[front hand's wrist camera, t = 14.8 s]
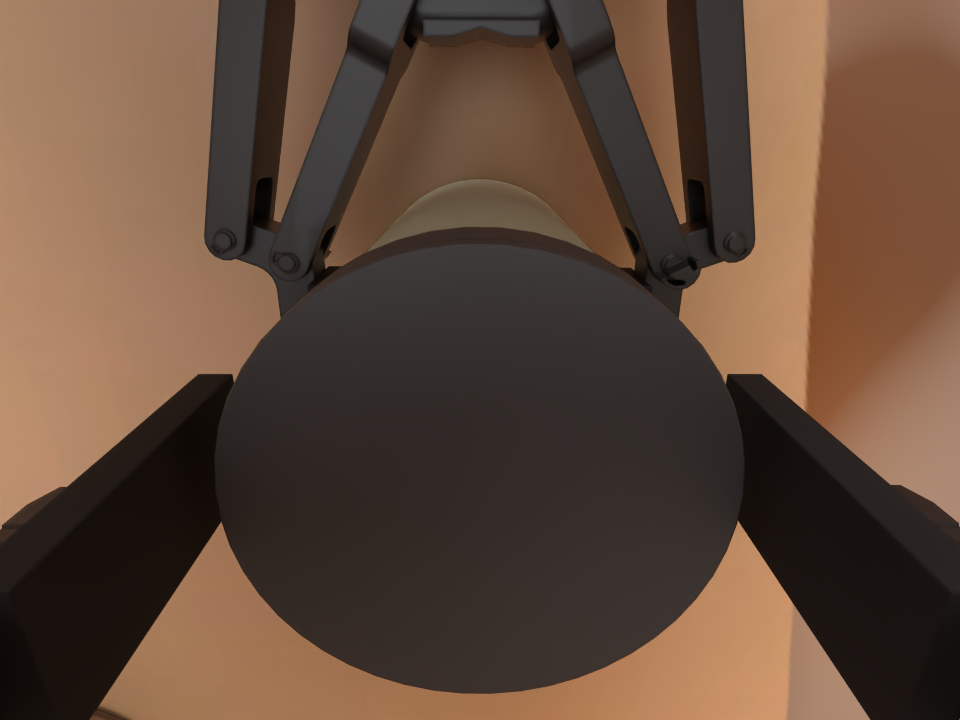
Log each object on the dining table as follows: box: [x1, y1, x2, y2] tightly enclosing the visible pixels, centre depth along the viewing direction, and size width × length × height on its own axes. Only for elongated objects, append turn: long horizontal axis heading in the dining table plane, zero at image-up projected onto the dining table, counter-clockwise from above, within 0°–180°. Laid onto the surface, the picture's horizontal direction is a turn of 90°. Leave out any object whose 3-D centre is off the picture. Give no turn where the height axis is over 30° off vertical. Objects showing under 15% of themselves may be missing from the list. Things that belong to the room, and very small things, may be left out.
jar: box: [367, 179, 593, 253], centre depth 18 cm, size 9×9×16 cm
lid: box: [214, 227, 745, 694], centre depth 11 cm, size 10×10×2 cm
